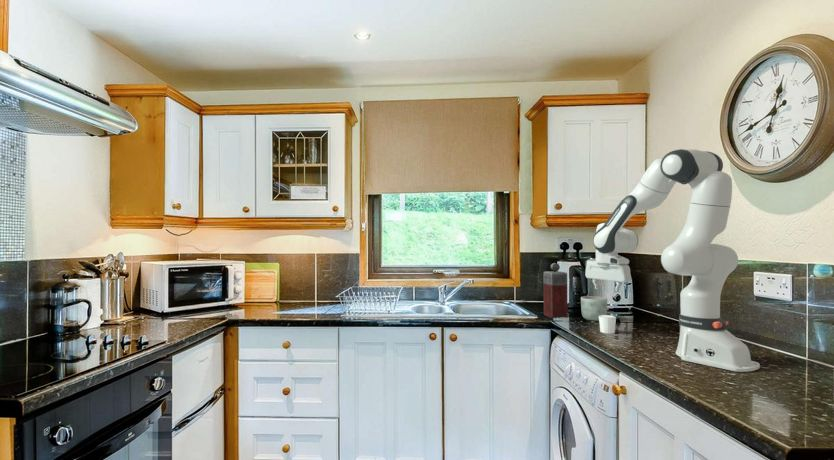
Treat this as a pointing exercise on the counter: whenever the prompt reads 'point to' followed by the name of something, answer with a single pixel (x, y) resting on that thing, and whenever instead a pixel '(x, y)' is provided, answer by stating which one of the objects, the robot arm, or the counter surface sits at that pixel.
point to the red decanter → (555, 292)
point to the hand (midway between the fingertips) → (606, 290)
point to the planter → (593, 307)
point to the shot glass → (607, 324)
